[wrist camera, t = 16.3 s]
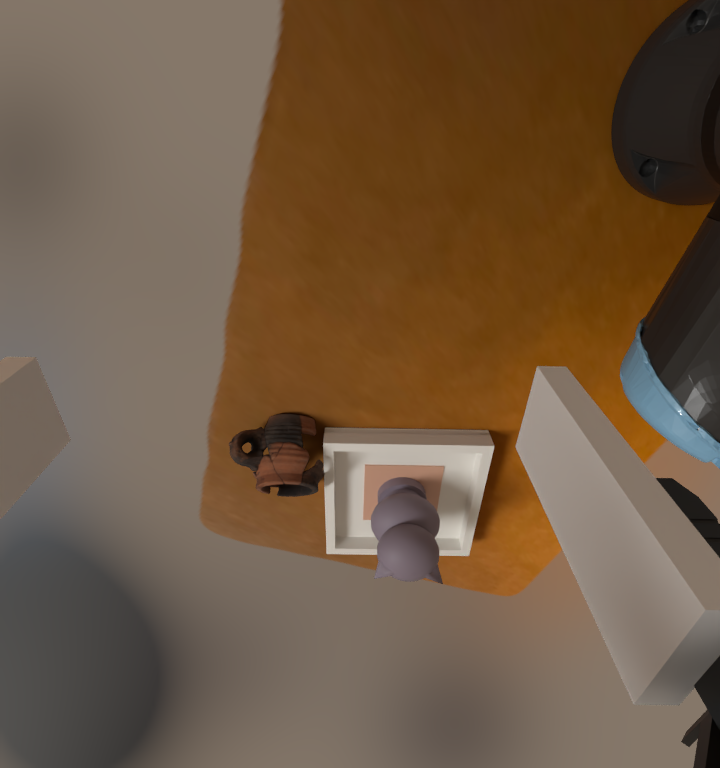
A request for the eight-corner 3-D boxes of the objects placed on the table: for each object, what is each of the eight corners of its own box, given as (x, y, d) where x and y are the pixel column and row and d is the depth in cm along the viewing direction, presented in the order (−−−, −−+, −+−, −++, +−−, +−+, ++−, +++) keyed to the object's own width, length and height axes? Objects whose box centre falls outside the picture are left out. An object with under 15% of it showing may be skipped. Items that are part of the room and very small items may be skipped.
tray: (488, 430, 54) (494, 446, 51) (464, 538, 64) (468, 555, 62) (324, 427, 53) (323, 443, 51) (328, 536, 64) (326, 553, 62)
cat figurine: (440, 475, 56) (458, 556, 46) (427, 517, 60) (440, 600, 50) (374, 468, 55) (377, 549, 45) (365, 511, 60) (366, 594, 49)
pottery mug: (340, 419, 54) (338, 486, 50) (308, 442, 61) (305, 502, 57) (243, 398, 48) (233, 472, 44) (221, 426, 56) (211, 491, 52)
